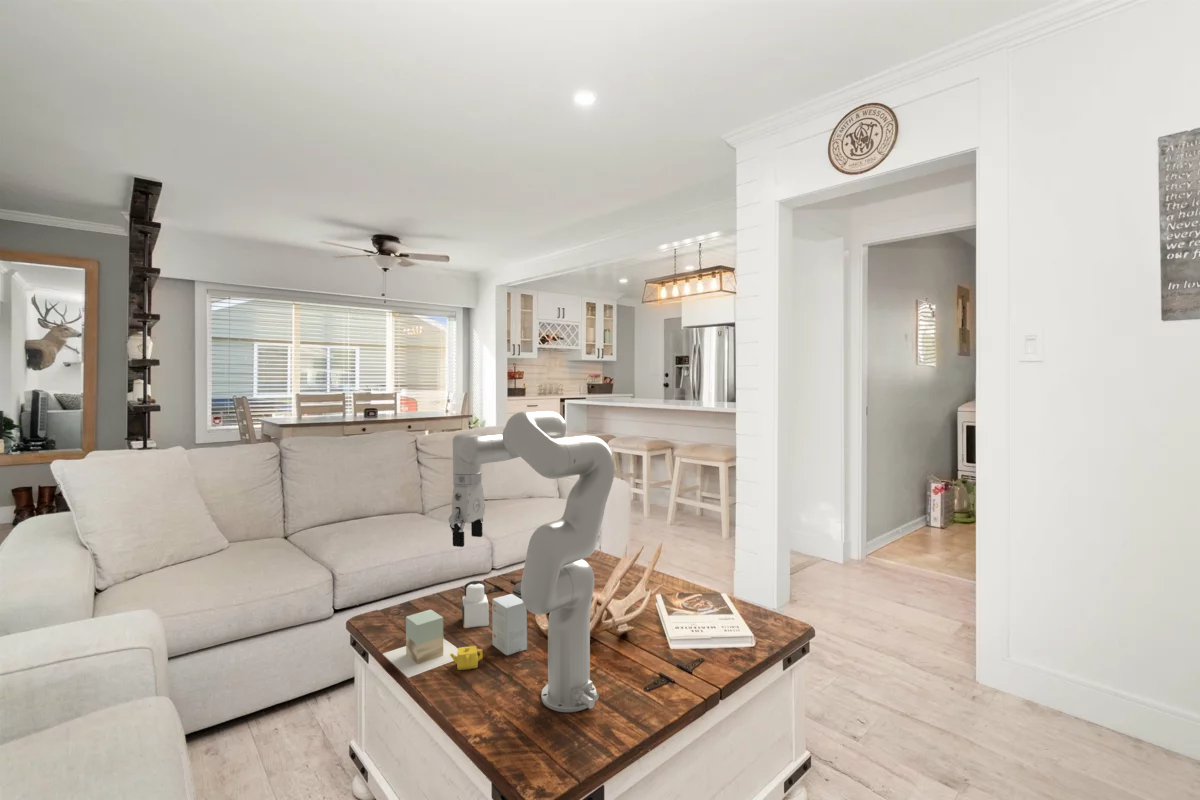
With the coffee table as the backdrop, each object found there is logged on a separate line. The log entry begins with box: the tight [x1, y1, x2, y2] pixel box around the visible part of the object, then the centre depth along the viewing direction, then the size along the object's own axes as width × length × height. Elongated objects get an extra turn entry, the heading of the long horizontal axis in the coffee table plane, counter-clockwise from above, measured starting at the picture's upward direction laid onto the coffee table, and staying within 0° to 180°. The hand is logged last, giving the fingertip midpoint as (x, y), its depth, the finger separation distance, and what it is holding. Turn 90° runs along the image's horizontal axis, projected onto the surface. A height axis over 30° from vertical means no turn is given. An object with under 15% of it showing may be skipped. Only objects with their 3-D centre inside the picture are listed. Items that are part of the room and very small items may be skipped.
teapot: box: [450, 645, 484, 671], centre depth 140 cm, size 8×6×5 cm
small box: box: [491, 593, 528, 656], centre depth 150 cm, size 8×6×13 cm
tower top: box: [405, 609, 444, 645], centre depth 146 cm, size 7×7×5 cm
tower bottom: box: [405, 635, 444, 664], centre depth 146 cm, size 7×7×5 cm
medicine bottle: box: [461, 580, 490, 629], centre depth 166 cm, size 7×7×12 cm
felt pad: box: [382, 637, 459, 679], centre depth 146 cm, size 16×16×1 cm
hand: (468, 541), depth 153 cm, fingers open, 9 cm apart
